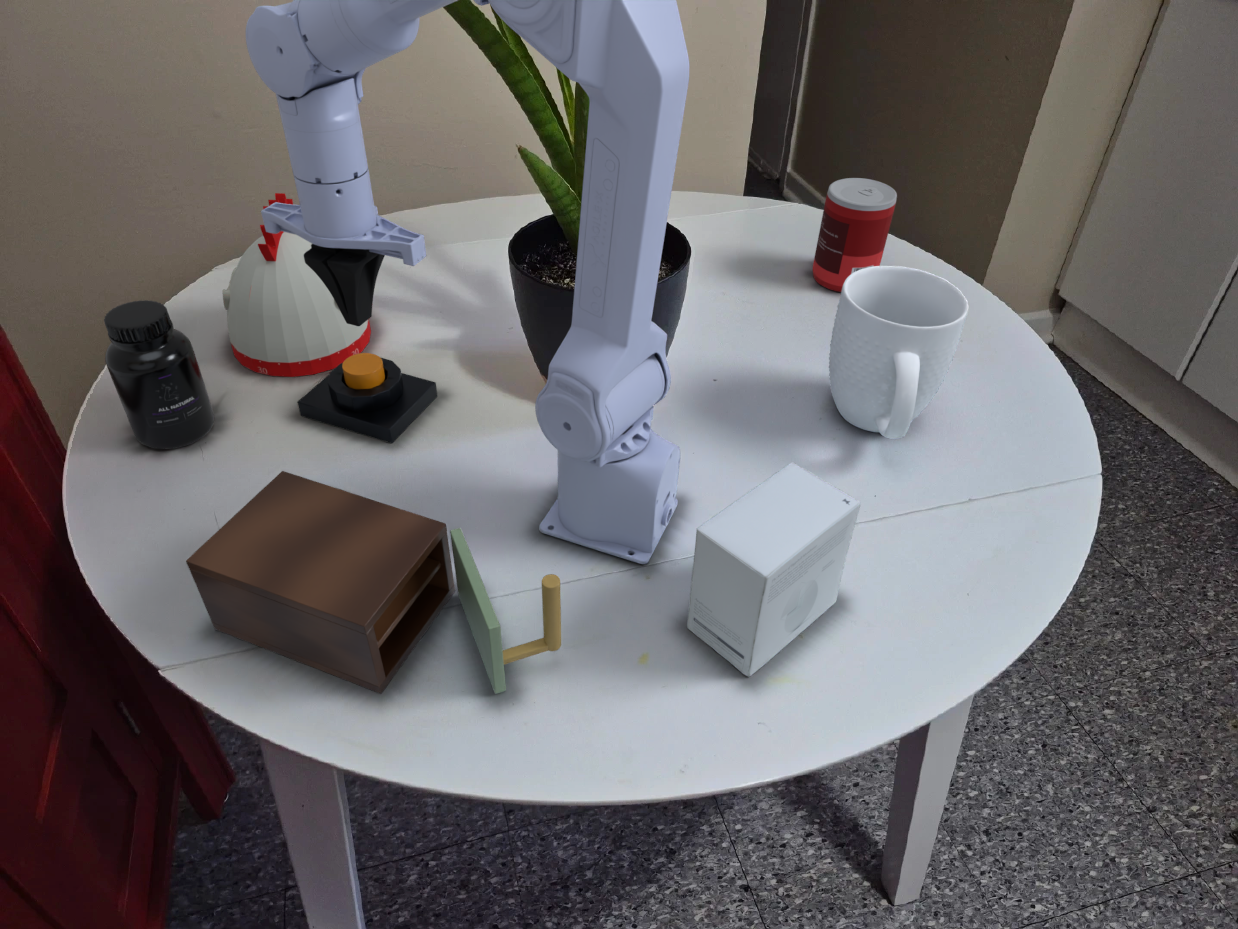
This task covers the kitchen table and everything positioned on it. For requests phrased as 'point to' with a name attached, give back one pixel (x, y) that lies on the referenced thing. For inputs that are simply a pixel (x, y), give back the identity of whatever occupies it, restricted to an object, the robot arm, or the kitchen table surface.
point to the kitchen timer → (286, 311)
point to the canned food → (852, 229)
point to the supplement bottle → (156, 376)
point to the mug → (892, 345)
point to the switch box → (369, 403)
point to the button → (363, 371)
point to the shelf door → (486, 620)
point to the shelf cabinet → (326, 578)
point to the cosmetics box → (769, 566)
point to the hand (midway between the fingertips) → (359, 319)
